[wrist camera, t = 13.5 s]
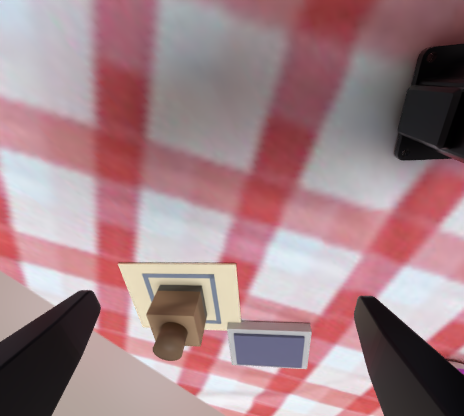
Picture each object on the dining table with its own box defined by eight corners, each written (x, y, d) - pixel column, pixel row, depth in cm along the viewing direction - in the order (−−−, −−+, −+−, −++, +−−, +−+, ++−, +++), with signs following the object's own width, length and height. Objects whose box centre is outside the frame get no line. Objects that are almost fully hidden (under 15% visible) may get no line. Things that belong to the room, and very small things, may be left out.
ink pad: (309, 323, 26) (312, 334, 25) (305, 360, 29) (307, 371, 28) (228, 320, 27) (226, 331, 26) (232, 356, 30) (231, 367, 29)
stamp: (201, 285, 25) (188, 337, 20) (207, 314, 27) (195, 368, 22) (159, 284, 25) (136, 335, 20) (168, 313, 27) (149, 365, 22)
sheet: (236, 263, 23) (235, 265, 23) (241, 329, 28) (241, 331, 27) (118, 262, 24) (117, 264, 24) (143, 325, 29) (142, 327, 29)
